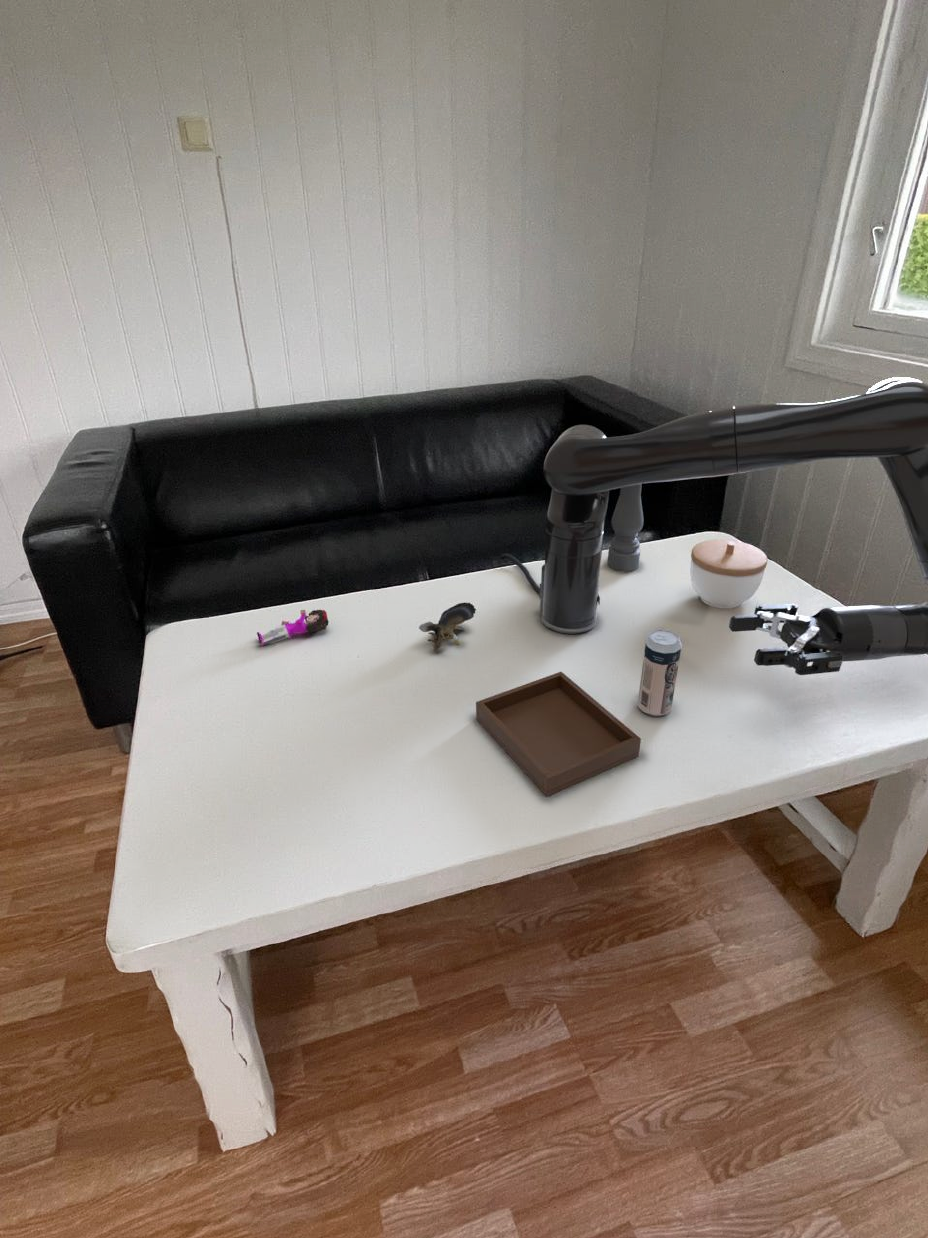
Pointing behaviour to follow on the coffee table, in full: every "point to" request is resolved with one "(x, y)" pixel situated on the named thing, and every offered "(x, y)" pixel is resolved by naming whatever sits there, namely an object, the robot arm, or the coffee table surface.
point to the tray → (556, 732)
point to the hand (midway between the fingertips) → (742, 640)
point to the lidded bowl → (726, 572)
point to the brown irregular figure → (449, 624)
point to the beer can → (659, 672)
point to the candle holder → (626, 530)
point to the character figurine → (297, 627)
